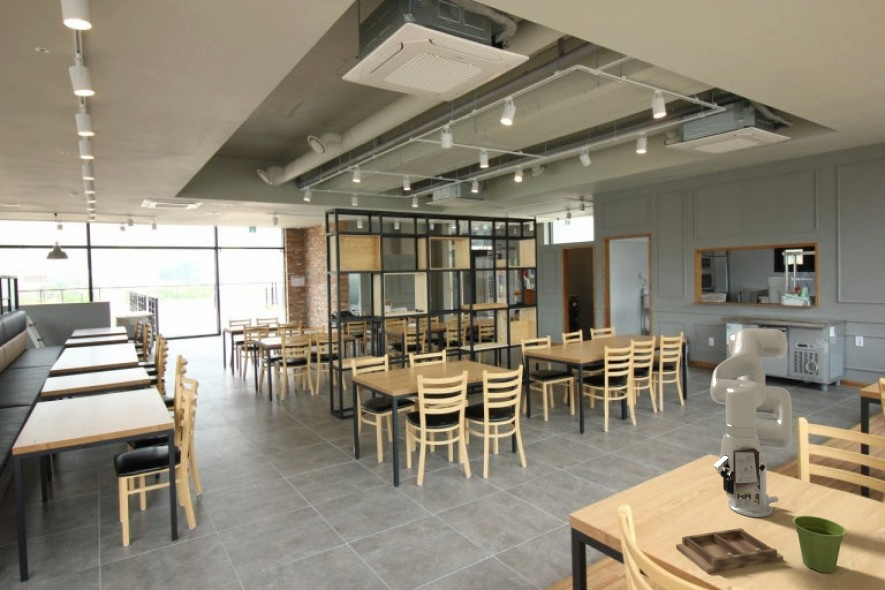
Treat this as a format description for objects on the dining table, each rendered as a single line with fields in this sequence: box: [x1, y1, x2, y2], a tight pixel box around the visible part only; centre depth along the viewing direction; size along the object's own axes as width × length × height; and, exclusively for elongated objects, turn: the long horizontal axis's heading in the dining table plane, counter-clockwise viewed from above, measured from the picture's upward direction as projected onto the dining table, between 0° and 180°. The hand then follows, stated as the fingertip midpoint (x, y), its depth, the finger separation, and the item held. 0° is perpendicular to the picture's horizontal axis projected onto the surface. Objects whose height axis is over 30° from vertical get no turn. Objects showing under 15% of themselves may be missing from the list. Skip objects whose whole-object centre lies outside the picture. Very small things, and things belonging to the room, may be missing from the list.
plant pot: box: [792, 515, 847, 573], centre depth 142 cm, size 12×12×11 cm
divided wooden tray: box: [675, 527, 784, 574], centre depth 149 cm, size 24×13×4 cm, turn 102°
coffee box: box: [725, 448, 759, 509], centre depth 150 cm, size 9×6×16 cm
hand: (741, 489), depth 150 cm, fingers closed on coffee box, 8 cm apart
